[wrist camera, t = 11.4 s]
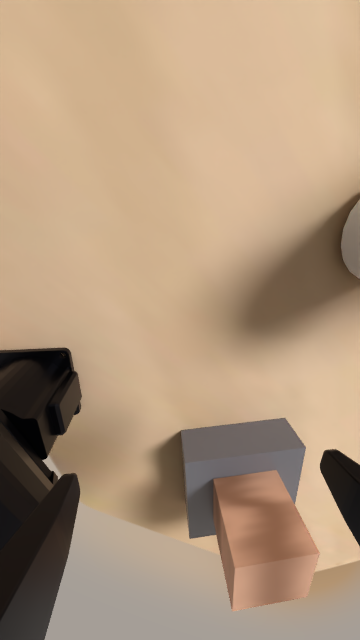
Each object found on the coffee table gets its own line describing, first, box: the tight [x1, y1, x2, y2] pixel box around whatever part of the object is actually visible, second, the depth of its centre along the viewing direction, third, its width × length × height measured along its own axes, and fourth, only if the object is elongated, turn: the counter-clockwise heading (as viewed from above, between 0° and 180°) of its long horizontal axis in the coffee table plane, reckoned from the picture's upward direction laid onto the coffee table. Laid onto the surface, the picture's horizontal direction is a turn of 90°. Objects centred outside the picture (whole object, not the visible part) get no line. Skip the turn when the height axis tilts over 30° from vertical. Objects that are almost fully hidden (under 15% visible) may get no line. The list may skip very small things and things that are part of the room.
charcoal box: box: [181, 418, 306, 539], centre depth 24 cm, size 11×11×4 cm
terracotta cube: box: [213, 470, 320, 611], centre depth 19 cm, size 6×6×6 cm
